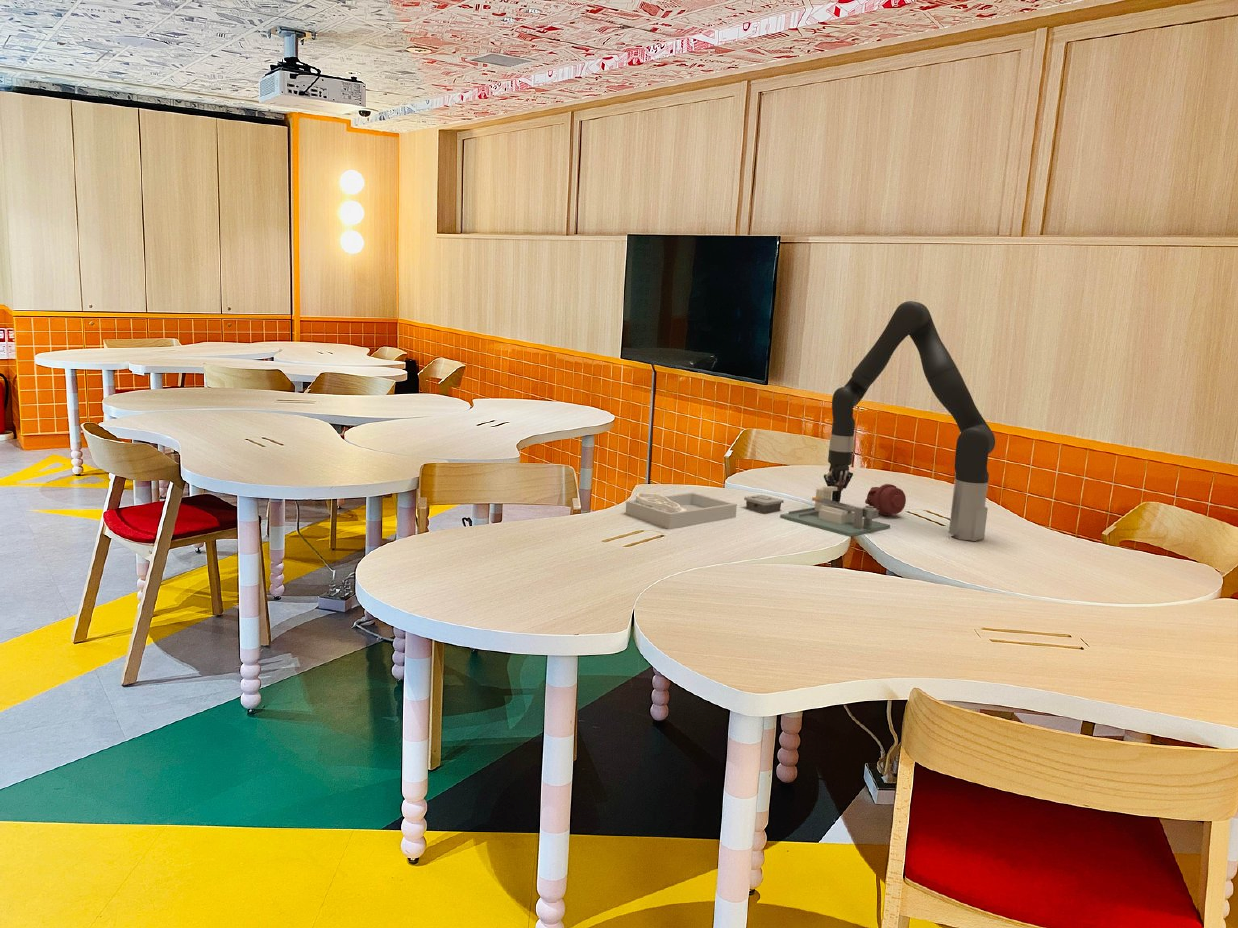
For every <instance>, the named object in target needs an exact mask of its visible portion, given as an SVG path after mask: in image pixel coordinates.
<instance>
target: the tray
mask: <svg viewBox="0 0 1238 928" xmlns="http://www.w3.org/2000/svg"><path fill="white" fill-rule="evenodd" d="M663 496H664V497H666V498H668V499H669V500H670V501H672V502H675V503H677V504H679V505H680V507H681V508H684V509H686V511H681V512H674V513H668V512H665V511H662V510H658V509H655V508H652V506H650V505H646V504H645V505H642V503H641V502H640V501H637V500H636V499H634V500H627V501H626V502H625V515H628V516H631V517H633V518H637V519H640V520H642V521H644V522H647V523H650V524H653V525H655V526H658V527H662V528H665V529H668V530H671V529H678V528H683V527H684V528H685V527H689V526H696V525H700V524H707V523H714V522H718V521H719V522H720V521H723V520H729V519H730V520H731V519H734V518H735V519H736V517H737V508H738V507H737V505H738V504H737V503H734V502H731V501H730V502H729V501H726V500H723V499H719V498H714V497H711V496H708V495H707V496H706V495H703V494H699V493H697V492H686V493H679V494H671V495H663ZM646 499H658V498H655V497H646ZM671 507H674V506H671Z"/></svg>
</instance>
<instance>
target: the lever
mask: <svg viewBox="0 0 1238 928" xmlns="http://www.w3.org/2000/svg"><path fill="white" fill-rule="evenodd" d="M811 501H814V502H815V501H816V502H820V503H824V504H828V505H831V506H835V507H839V508H842V509H846V510H850V511H853V512H855V507H856V506H854V505H852V504H847V503H843V502H841V501H840V502H836V501H832V499H831V500H828V499H825V498H821V497H816V496H814V497H812V498H811ZM862 508H863V517H862V518H864V517H865V518H869V519H872V520H875V519H879V514H880V513H879V510H876V509H875V508H873V509H872V508H869V507H866V508H865V507H862Z"/></svg>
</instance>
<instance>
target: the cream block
mask: <svg viewBox="0 0 1238 928" xmlns="http://www.w3.org/2000/svg"><path fill="white" fill-rule="evenodd" d="M837 488H838V487H834V486H823V487H818V488H816V490H815V492H816V493H815V497H821V498H825V499H828V500H832V491H837ZM814 502H815V504H814V507H815V511H819V510H820V509H821V506H825V505H828V504H824V503H820V502H816V501H814ZM828 506H829V505H828Z"/></svg>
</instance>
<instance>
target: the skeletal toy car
mask: <svg viewBox="0 0 1238 928" xmlns="http://www.w3.org/2000/svg"><path fill="white" fill-rule="evenodd" d="M664 496H665V495H661V494H659V493H651V492H650V493H646V492H645V493H644V492H637V493H636V495H635V500H637V501H640V502H641V503H642V505H645V504H646V505H650V506H652V508H655V509H658V510H662V511H665V512H668V513H674V512H681V511H686V509H684V508H681V507H680V505H679V504H677V503H675V502H672V501H670V500H669V499H668V498H666V497H664ZM647 498H658V499H647ZM671 506H674V507H671Z"/></svg>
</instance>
